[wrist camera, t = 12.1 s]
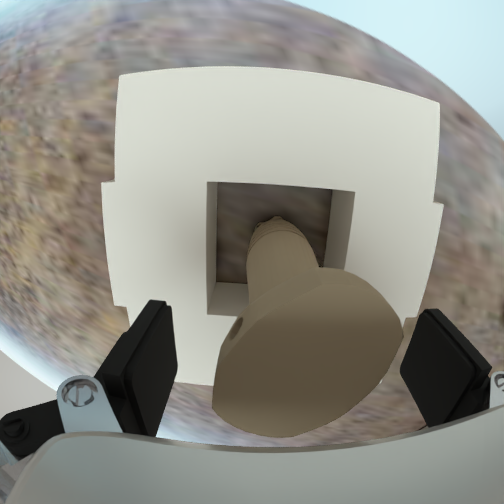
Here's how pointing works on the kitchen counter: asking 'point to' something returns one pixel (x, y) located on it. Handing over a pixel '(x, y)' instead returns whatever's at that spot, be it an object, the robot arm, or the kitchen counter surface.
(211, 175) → the socket block
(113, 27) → the kitchen counter surface
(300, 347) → the handle
